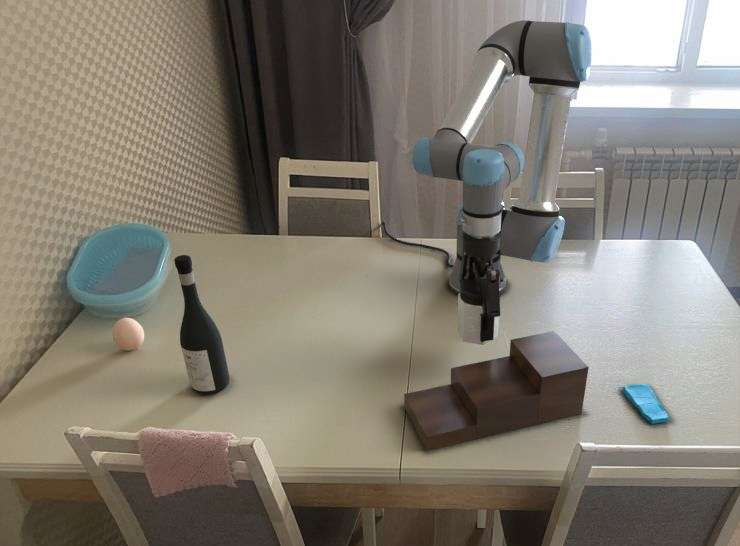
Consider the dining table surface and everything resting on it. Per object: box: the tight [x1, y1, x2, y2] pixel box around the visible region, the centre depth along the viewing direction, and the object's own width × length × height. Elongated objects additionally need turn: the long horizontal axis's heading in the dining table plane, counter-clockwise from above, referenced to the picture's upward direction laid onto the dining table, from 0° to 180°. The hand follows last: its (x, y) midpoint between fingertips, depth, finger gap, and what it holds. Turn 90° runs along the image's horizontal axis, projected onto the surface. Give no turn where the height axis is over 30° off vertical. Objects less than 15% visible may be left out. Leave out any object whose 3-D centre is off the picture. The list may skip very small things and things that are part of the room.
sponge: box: [623, 383, 670, 425], centre depth 139 cm, size 2×12×6 cm
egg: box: [111, 317, 145, 352], centre depth 155 cm, size 7×7×8 cm
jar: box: [457, 277, 500, 346], centre depth 144 cm, size 9×8×12 cm
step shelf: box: [403, 330, 589, 452], centre depth 135 cm, size 14×33×12 cm, turn 110°
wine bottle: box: [173, 254, 230, 396], centre depth 137 cm, size 8×8×30 cm
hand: (477, 328), depth 146 cm, fingers closed on jar, 9 cm apart
